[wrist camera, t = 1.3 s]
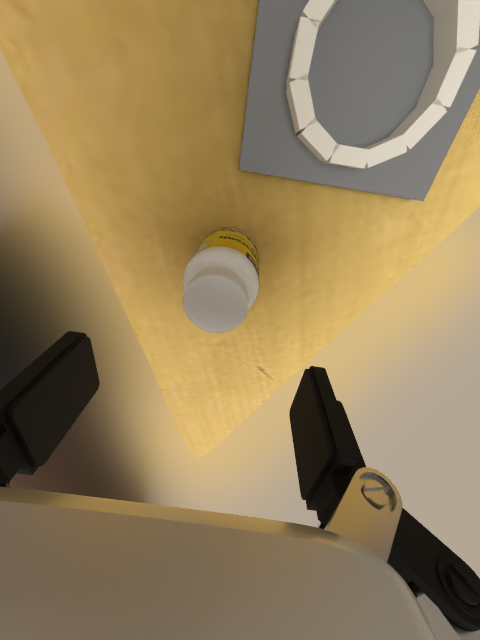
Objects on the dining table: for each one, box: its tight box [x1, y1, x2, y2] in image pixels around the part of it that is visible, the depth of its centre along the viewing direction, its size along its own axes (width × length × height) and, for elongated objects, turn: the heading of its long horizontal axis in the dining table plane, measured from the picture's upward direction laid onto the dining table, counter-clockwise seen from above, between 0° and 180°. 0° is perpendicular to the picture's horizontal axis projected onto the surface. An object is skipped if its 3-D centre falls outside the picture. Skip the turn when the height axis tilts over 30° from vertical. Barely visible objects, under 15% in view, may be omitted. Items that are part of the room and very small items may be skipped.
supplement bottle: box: [183, 228, 259, 333], centre depth 19 cm, size 5×5×10 cm
